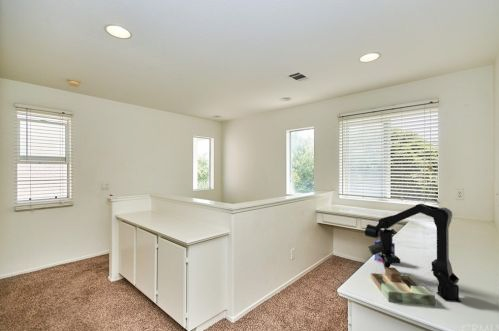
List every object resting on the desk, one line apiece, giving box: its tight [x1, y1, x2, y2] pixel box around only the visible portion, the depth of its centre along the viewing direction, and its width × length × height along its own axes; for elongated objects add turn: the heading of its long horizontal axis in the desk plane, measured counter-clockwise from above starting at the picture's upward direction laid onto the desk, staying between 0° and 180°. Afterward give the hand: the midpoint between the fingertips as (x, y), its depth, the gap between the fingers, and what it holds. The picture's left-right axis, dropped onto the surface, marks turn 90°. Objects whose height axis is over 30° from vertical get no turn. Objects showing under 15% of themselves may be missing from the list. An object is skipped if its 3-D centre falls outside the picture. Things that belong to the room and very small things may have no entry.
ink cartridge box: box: [374, 239, 396, 266], centre depth 144 cm, size 10×6×14 cm, turn 40°
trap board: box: [370, 272, 436, 307], centre depth 110 cm, size 18×22×4 cm
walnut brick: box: [384, 267, 402, 282], centre depth 117 cm, size 4×7×4 cm, turn 171°
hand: (386, 269), depth 125 cm, fingers closed
